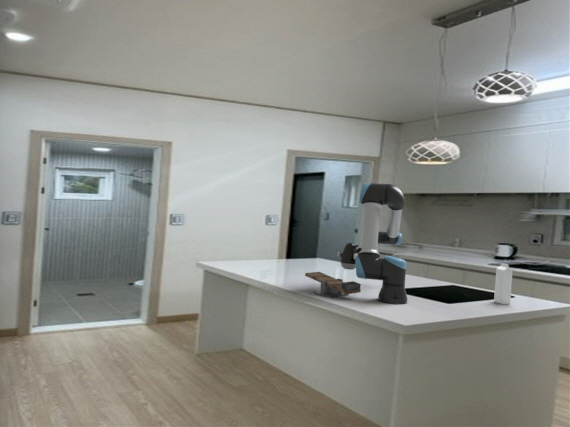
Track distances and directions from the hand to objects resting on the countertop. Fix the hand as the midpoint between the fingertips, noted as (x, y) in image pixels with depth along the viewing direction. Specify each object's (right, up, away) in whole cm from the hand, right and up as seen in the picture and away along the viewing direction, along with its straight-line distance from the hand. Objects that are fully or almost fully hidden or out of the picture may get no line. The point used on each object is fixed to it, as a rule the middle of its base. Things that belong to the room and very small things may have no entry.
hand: (346, 255), depth 270 cm
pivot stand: (-9, -21, -10) cm, 25 cm away
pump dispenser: (+2, -8, +4) cm, 9 cm away
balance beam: (-9, -15, -10) cm, 20 cm away
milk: (+87, -26, -4) cm, 91 cm away
